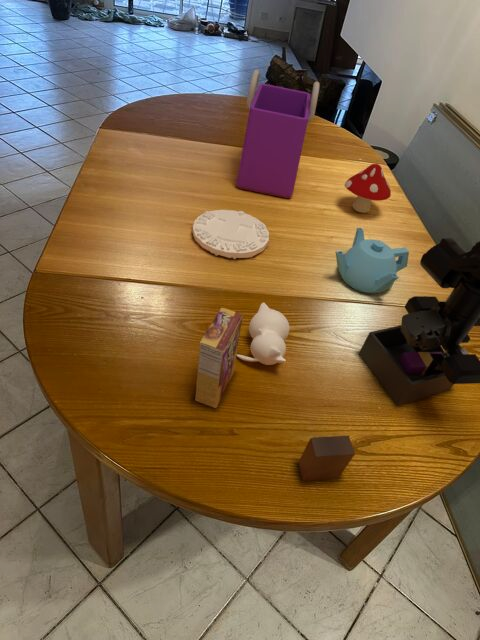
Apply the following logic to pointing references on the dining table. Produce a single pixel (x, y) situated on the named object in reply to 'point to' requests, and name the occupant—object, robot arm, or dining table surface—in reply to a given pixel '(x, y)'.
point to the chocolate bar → (416, 362)
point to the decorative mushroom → (368, 187)
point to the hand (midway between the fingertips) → (422, 367)
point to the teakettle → (370, 264)
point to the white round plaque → (230, 233)
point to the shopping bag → (274, 137)
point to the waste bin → (399, 367)
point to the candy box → (217, 356)
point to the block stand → (325, 458)
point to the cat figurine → (268, 336)
